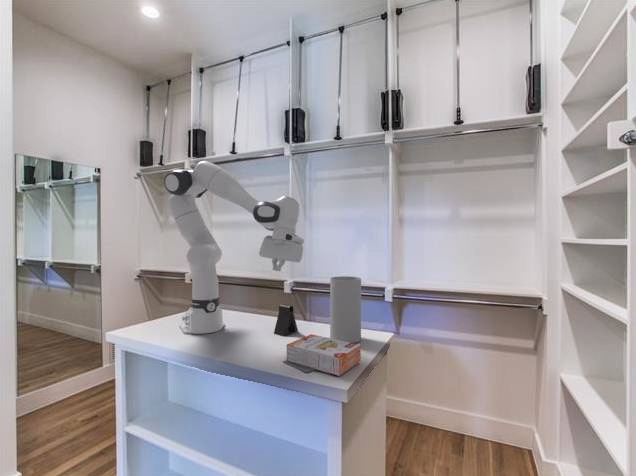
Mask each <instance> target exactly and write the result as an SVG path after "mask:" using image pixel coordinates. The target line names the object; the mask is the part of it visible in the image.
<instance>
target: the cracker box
mask: <svg viewBox="0 0 636 476" xmlns="http://www.w3.org/2000/svg"><path fill="white" fill-rule="evenodd" d="M361 347H362V346H361V344H359V343H350V342H345V341H340V340H336V339H331V338H330V337H325V336H321V335H318V334H317V335H316V334H312V333H310V334H308V335H305V336H304V337H301V338H299V339H296V340H294V341H291V342H289V343H288V344H286V360H287V361H289V362H292V363H296V364H299V365H303V366H306V367H310V368H313V369H316V370H315V371H321V372H324V373H327V374H331V375H333V376H338V377H339V376H342V374H344V373H345V372H347V371H348V370H350V369H351V368H353V367H355V366H356V365H357V364H358V363H360V362H361V361H362V359H361V357H362V356H361V353H362V352H361V350H362V349H361Z"/></svg>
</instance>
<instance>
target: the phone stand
mask: <svg viewBox="0 0 636 476" xmlns="http://www.w3.org/2000/svg"><path fill="white" fill-rule="evenodd" d="M296 321H297V320H296V318H295V313H294V306H293V305H290V304H283V303H281V304H279V306H278V315H277V319H276V322H275V327H274V331H273V334H274V335H277V336H281V337H287V336H289V335H292V334H295V333H297V332H298V333H299V330H298V326H297V322H296Z"/></svg>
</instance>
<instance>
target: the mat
mask: <svg viewBox="0 0 636 476" xmlns="http://www.w3.org/2000/svg"><path fill="white" fill-rule="evenodd" d="M282 362H283V364H286V365H289V366H290V367H292V368H295V369H297V370H299V371H301V372H303V373H305V374H309V373H312V372H315V371H317V370H316V369H313V368H310V367H306V366H303V365H299V364H296V363H292V362H289V361H287V359H284V360H283V361H282Z"/></svg>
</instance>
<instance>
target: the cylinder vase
mask: <svg viewBox="0 0 636 476" xmlns="http://www.w3.org/2000/svg"><path fill="white" fill-rule="evenodd" d="M329 282H330V284H329V286H330V289H329V292H330V293H329V295H330V297H329V298H330V299H329V300H330V301H329V309H330V310H329V318H330V319H329V321H330V322H329V338H331V339H336V340H340V341H345V342H350V343H355V344H358V343H359V342H360V341H361V339H362V278H361V277H358V276H342V275H341V276H332V277H330V280H329Z"/></svg>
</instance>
